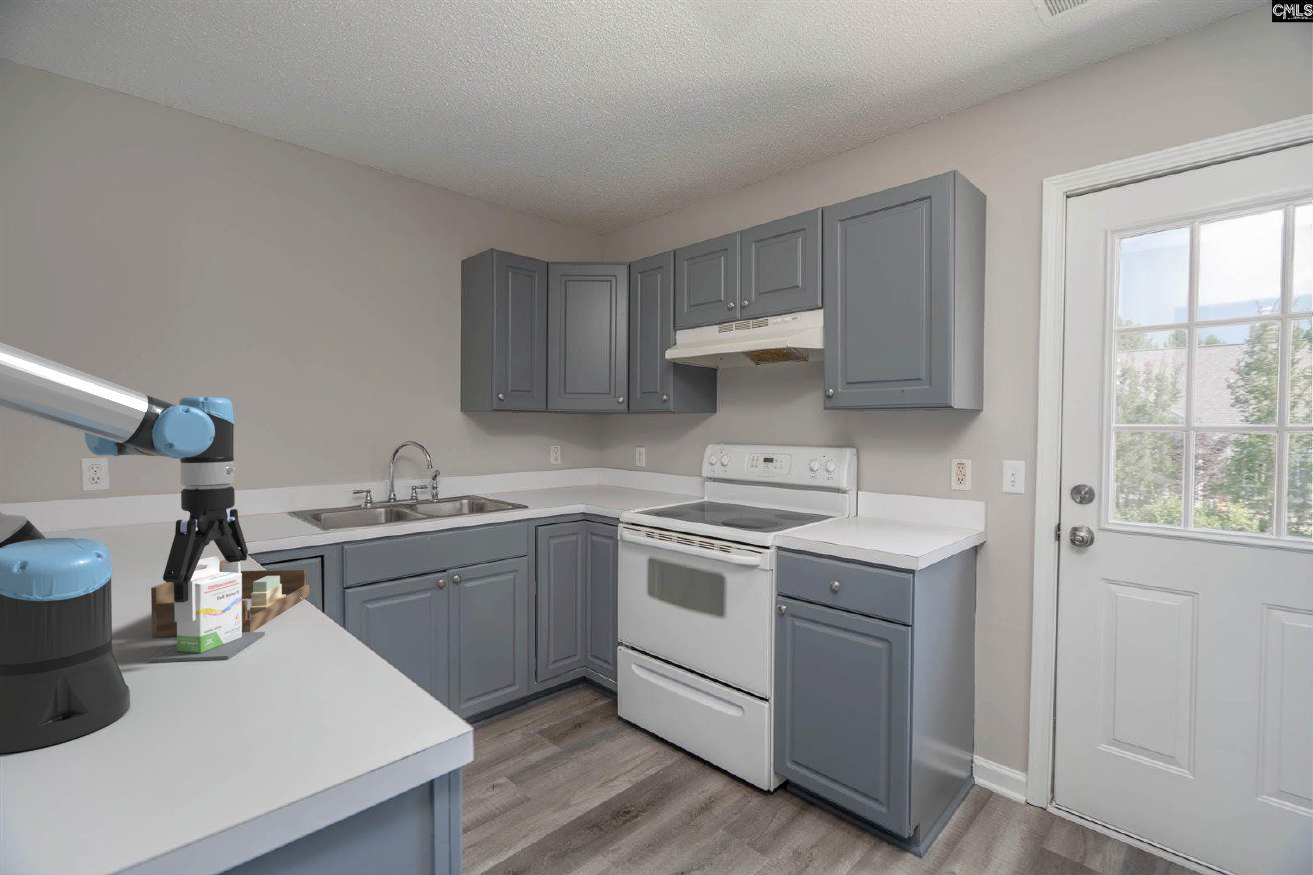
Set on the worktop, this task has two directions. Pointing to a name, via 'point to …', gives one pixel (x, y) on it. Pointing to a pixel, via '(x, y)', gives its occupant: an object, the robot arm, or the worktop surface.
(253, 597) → the block
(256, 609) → the offcut bottom
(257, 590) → the offcut top
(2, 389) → the robot arm
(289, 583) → the rack
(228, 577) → the ink box
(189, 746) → the worktop surface
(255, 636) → the mat
